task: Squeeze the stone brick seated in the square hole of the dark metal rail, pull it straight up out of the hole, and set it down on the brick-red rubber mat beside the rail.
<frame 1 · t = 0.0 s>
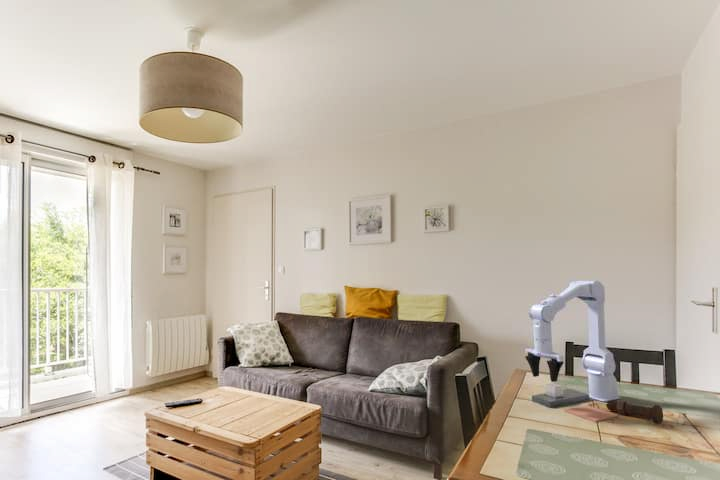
hand: (544, 378, 138), 10 cm above the table, tool pointing down, fingers open, 7 cm apart
stone brick: (555, 401, 144), resting in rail
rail: (560, 400, 145), on the table
mat: (590, 414, 131), on the table
bolt: (633, 417, 129), on the table
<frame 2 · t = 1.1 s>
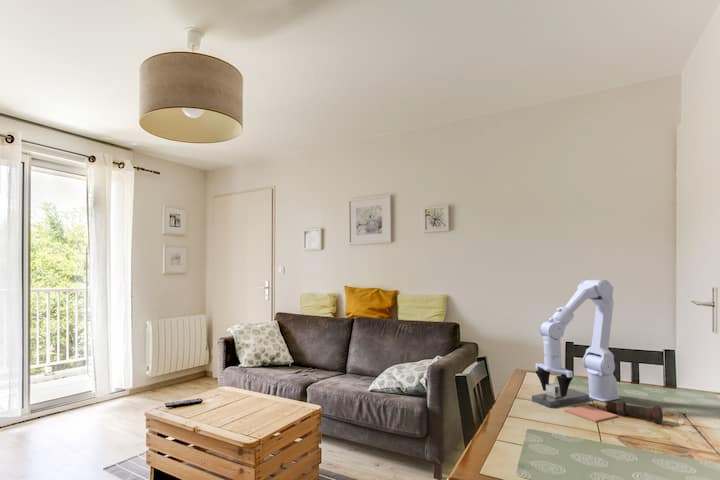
hand: (554, 393, 144), 3 cm above the table, tool pointing down, fingers open, 7 cm apart
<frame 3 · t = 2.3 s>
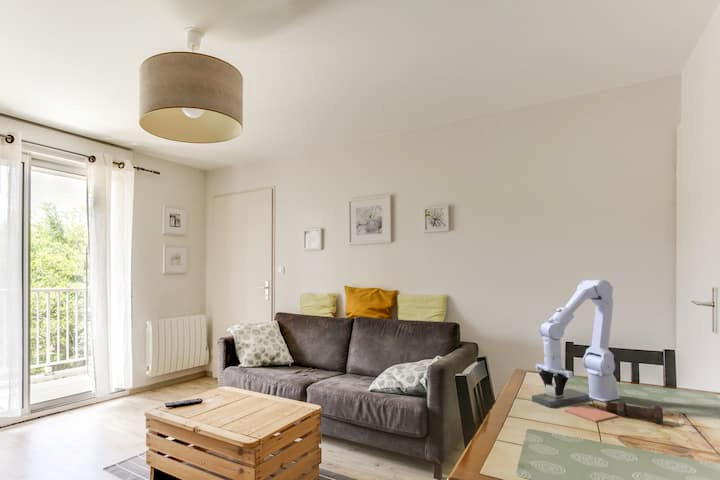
hand: (554, 393, 144), 3 cm above the table, tool pointing down, fingers closed on stone brick, 4 cm apart
stone brick: (555, 401, 144), resting in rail, touching gripper
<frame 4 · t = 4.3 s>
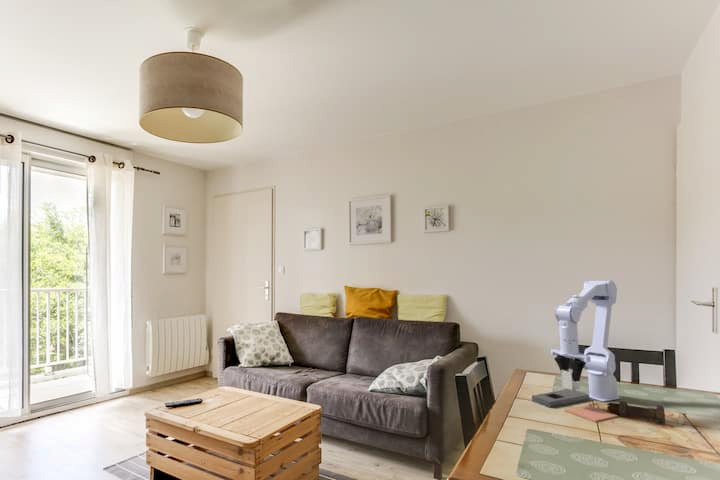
hand: (571, 379, 138), 10 cm above the table, tool pointing down, fingers closed on stone brick, 4 cm apart
stone brick: (571, 388, 138), point 7 cm above the table, touching gripper
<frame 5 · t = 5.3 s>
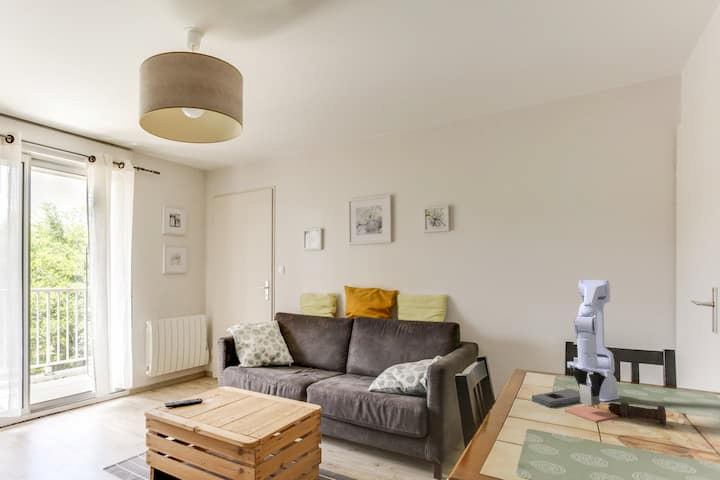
hand: (589, 394, 132), 6 cm above the table, tool pointing down, fingers closed on stone brick, 4 cm apart
stone brick: (590, 403, 132), point 4 cm above the table, touching gripper
when the fingers open (5 cm above the table, at t = 6.4 s): stone brick drops 1 cm, resting on mat.
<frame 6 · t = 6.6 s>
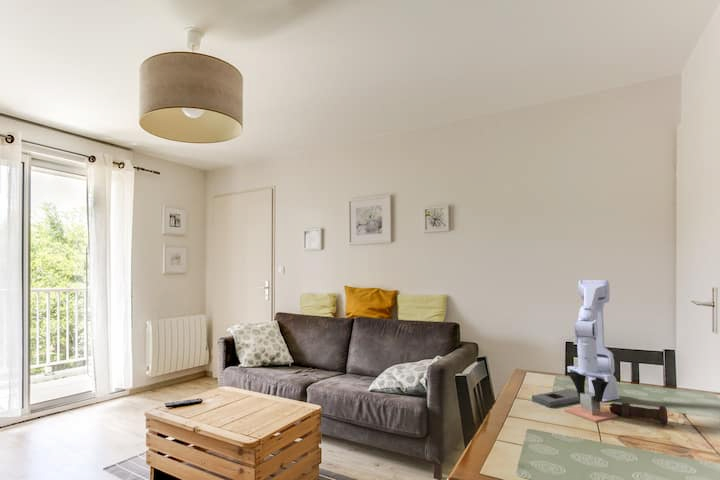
hand: (589, 398, 132), 5 cm above the table, tool pointing down, fingers open, 6 cm apart
stone brick: (590, 412, 131), resting on mat
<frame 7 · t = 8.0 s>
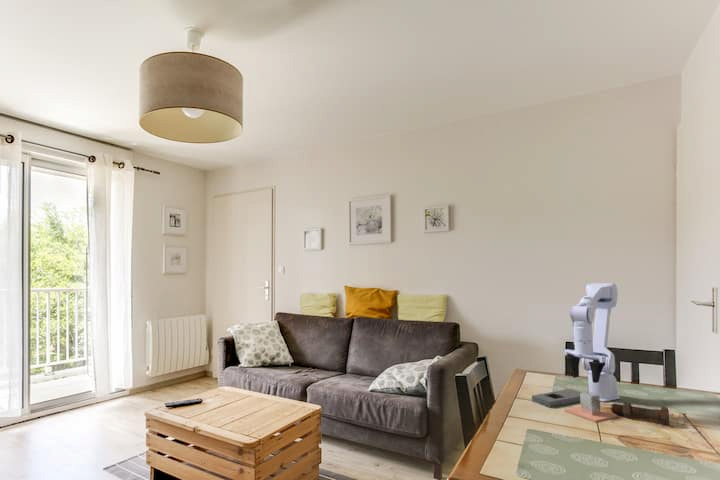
hand: (585, 379, 139), 9 cm above the table, tool pointing down, fingers open, 7 cm apart
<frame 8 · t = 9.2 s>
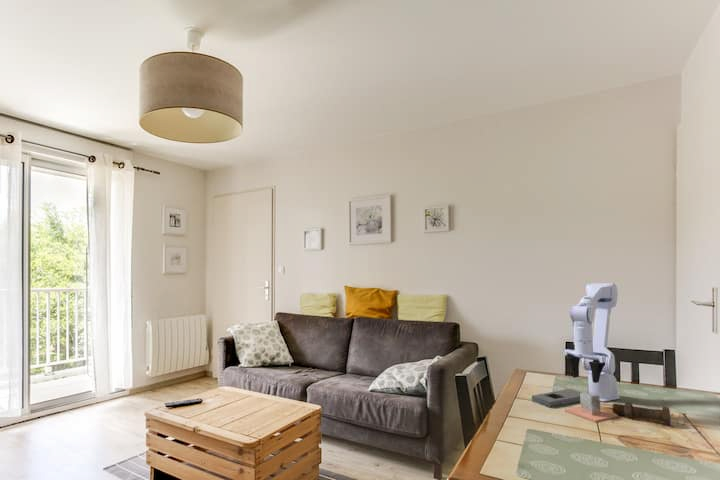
hand: (585, 379, 139), 9 cm above the table, tool pointing down, fingers open, 7 cm apart
at the end: stone brick inside the target area on the mat (0.1 cm from its centre), point 0.5 cm above the mat's base; stone brick tilted 0°; the gripper is holding nothing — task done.
